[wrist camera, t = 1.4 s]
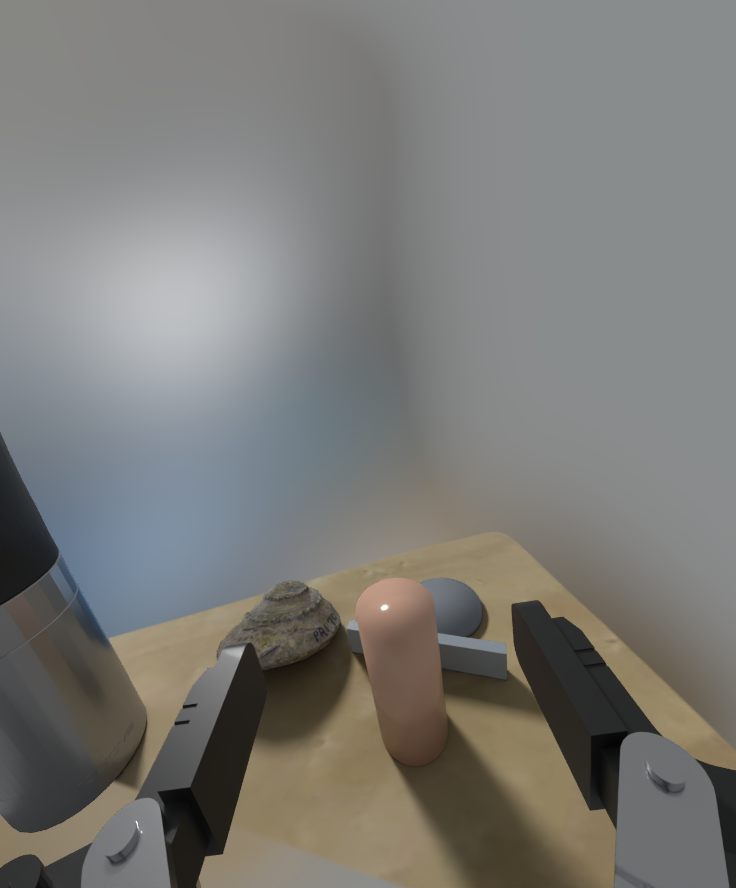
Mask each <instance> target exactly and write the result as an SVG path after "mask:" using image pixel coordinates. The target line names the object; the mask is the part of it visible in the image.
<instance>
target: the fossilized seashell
mask: <svg viewBox="0 0 736 888" xmlns="http://www.w3.org/2000/svg"><path fill="white" fill-rule="evenodd" d="M340 626H341V622H340V617H339V613H338V612H337V611H336V610H335V609H334V607H333V606H332V604H331V603H330V602H329V601H327V600H325V599H324V598H323V597H322V596H321V594H320V593H319V592H318V590H315V589H313V588H312V587H308V586H307V585H306V584H305V583H304V582H300V581H286V582H282V583H279V584H277V585H275V587H274V588H272V589H271V590H269V591H267V592H266V593H265V594H264V597H263V599H262V600H261V601H260V602H259V603H258V604H257V605H256V606H255V607H254V608H253V609H252V610H251V611H250V612H248V613H246V614H245V616H244V617H243V619H242V621H241V622H240V623H239V624H238V625H237V626H235V627H234V628H233V629H232V630H231V631H230V632H229V633H228V635H227V636H226V637H225V639H224V640H223V641H221V643H220V645H219V648H218V650H217V661H218V659H219V657H220V654H221V652H222V650H223V649H224V648H225V647H226V646H230V645H236V644H243V643H252V644H253V645H254V648H255V651H256V654H257V657H258V659H259V662H260V665H261V668H262V670H268V669H272V668H276V667H280V666H284V665H289V664H291V663H294V662H297V661H301V660H305V659H306V658H308V657H309V656H311V655H313V654H315V653H316V652H318V651H320V650H322V649H323V648H325V647H326V646H327V645H328V644H329V643H330V641H331V640H332V639H333V638H334V637H335V635H336V633H337V631H338V629H339V627H340Z"/></svg>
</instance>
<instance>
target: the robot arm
mask: <svg viewBox="0 0 736 888" xmlns="http://www.w3.org/2000/svg"><path fill="white" fill-rule="evenodd" d="M512 623H513V638H514V647H515V651H516V655H517V658H518V661H519V664H520V666H521V668H522V670H523V672H524V675H525V677H526V679H527V681H528V683H529V685H530V687H531V689H532V691H533V693H534V695H535V697H536V699H537V702H538V704H539V706H540V708H541V710H542V712H543V714H544V716H545V718H546V720H547V722H548V724H549V727H550V729H551V731H552V733H553V735H554V737H555V739H556V741H557V743H558V745H559V747H560V749H561V751H562V754H563V756H564V758H565V760H566V762H567V764H568V766H569V768H570V770H571V772H572V774H573V776H574V778H575V781H576V783H577V785H578V787H579V789H580V791H581V793H582V795H583V797H584V799H585V801H586V803H587V805H588V808H589V810H590V811H591V810H599V809H606V811H607V813H608V815H609V817H610V819H611V821H612V823H613V825H614V827H615V829H616V849H615V871H614V888H736V770H731V769H726V768H722V767H717V766H714V765H710V764H707V763H704V762H702V761H699V760H697V759H695V758H693V757H692V756H691V755H690V754H689V753H688V752H687V751H686V750H684V749H683V748H682V747H680V746H679V745H677V744H676V743H674V742H672V741H671V740H669V739H667V738H665V737H663V736H662V735H661V734H660V733H659V732H658V731H657V730H656V729H655V727H654V726H653V725H652V724H651V722H650V721H649V720H648V718H647V717H646V716H645V714H644V713H643V712H642V710H641V709H640V708H639V706H638V705H637V704H636V702H635V701H634V700H633V698H632V697H631V696H630V694H629V693H628V692H627V690H626V689H625V688H624V686H623V685H622V684H621V682H620V681H619V680H618V678H617V677H616V676H615V674H614V673H613V672H612V670H611V669H610V668H609V667H608V666H606V663H605V661H604V660H603V659H602V657H601V656H600V655H599V653H598V652H597V651H595V649H594V647H593V645H592V644H591V643H590V641H589V640H588V639H587V637H586V636H585V635H584V633H583V632H582V631H581V630H580V629H579V628H578V627H576V626H575V625H573V624H572V623H571V622H569V621H568V620H567V619H565V618H564V617H558V618H551V617H550V615H549V614H548V612H547V611H546V609H545V608H544V606H543V605H542V604H541V602H540V601H538V600H535V601H528V602H522V603H515V604H512ZM265 698H266V681H265V677H264V674H263V671H262V668H261V665H260V662H259V659H258V657H257V654H256V651H255V648H254V645H253V644H252V643H243V644H236V645H230V646H226V647H225V648H224V649H223V650H222V652H221V654H220V657H219V659H218V661H217V663H216V665H215V667H213V668H207V670H206V671H205V672H204V673H203V674H202V675H201V677H200V678H199V679H198V680H197V681H196V682H195V684H194V685H193V686H192V688H191V690H190V692H189V694H188V696H187V698H186V700H185V702H184V704H183V709H181V710H180V712H179V714H178V716H177V718H176V720H175V725H174V726H172V728H171V730H170V732H169V734H168V736H167V738H166V740H165V742H164V744H163V746H162V748H161V750H160V752H159V754H158V756H157V758H156V760H155V762H154V764H153V766H152V768H151V770H150V772H149V774H148V776H147V778H146V780H145V782H144V784H143V786H142V788H141V790H140V792H139V794H138V796H137V797H136V799H135V801H133V802H132V803H130V804H128V805H126V806H125V807H124V808H122V809H121V810H120V811H118V812H117V813H116V814H115V815H114V816H113V817H112V818H111V819H110V820H109V821H108V822H107V823H106V824H105V826H104V827H103V828H102V829H101V831H100V832H99V833H98V835H97V837H96V838H95V840H94V841H93V842H92V843H90V844H89V845H87V846H85V847H83V848H81V849H79V850H77V851H75V852H74V853H71V854H69V855H68V856H66V857H64V858H62V859H60V860H58V861H56V862H54V863H52V864H50V865H48V866H46V867H45V866H44V865H43V864H42V862H41V861H40V860H39V858H38V857H36V856H35V855H31V854H30V855H23V856H20V857H18V858H16V859H14V860H12V861H10V862H8V863H7V864H5V865H4V866H2V867H1V868H0V888H201V884H200V881H199V879H198V878H199V875H200V871H201V868H202V865H203V861H204V858H205V856H212V855H220V854H223V851H224V848H225V844H226V840H227V837H228V833H229V830H230V826H231V822H232V819H233V815H234V812H235V808H236V804H237V801H238V797H239V794H240V790H241V786H242V783H243V779H244V775H245V772H246V768H247V765H248V761H249V757H250V754H251V750H252V747H253V743H254V739H255V736H256V732H257V729H258V725H259V721H260V718H261V714H262V711H263V707H264V703H265ZM146 720H147V714H146V708H145V706H144V704H143V702H142V700H141V699H140V697H139V695H138V693H137V691H136V689H135V687H134V686H133V684H132V682H131V680H130V678H129V676H128V674H127V672H126V670H125V669H124V667H123V665H122V663H121V661H120V659H119V658H118V656H117V654H116V652H115V650H114V649H113V647H112V645H111V643H110V641H109V639H108V638H107V636H106V634H105V632H104V630H103V629H102V627H101V625H100V623H99V621H98V620H97V618H96V616H95V614H94V612H93V610H92V609H91V607H90V605H89V603H88V601H87V600H86V598H85V596H84V594H83V592H82V590H81V589H80V587H79V585H78V583H77V582H76V580H75V578H74V576H73V575H72V573H71V571H70V569H69V567H68V566H67V564H66V562H65V560H64V558H63V557H62V555H61V553H60V551H59V550H58V548H57V546H56V544H55V542H54V540H53V539H52V537H51V535H50V533H49V531H48V530H47V527H46V525H45V523H44V521H43V519H42V517H41V515H40V513H39V511H38V509H37V507H36V505H35V503H34V501H33V500H32V498H31V496H30V494H29V492H28V490H27V488H26V486H25V484H24V483H23V481H22V479H21V477H20V474H19V472H18V470H17V468H16V466H15V464H14V462H13V460H12V458H11V456H10V453H9V451H8V449H7V447H6V444H5V442H4V440H3V438H2V435H1V433H0V814H1V815H2V816H3V818H4V819H5V820H6V821H7V822H8V823H9V824H10V825H11V826H12V827H13V828H15V829H16V830H18V831H19V832H28V833H33V832H37V831H42V830H46V829H49V828H51V827H53V826H55V825H58V824H60V823H62V822H64V821H65V820H67V819H69V818H70V817H72V816H73V815H75V814H77V813H78V812H79V811H81V810H82V809H83V808H85V807H86V806H87V805H89V804H90V803H91V802H92V801H94V800H95V799H96V798H97V797H98V796H99V795H100V794H101V793H102V792H103V791H104V790H105V789H106V788H107V787H108V786H109V785H110V784H111V783H112V782H113V781H114V780H115V779H116V777H117V776H118V775H119V774H120V773H121V771H122V770H123V769H124V768H125V766H126V765H127V763H128V762H129V760H130V759H131V757H132V756H133V754H134V752H135V751H136V749H137V747H138V745H139V743H140V741H141V739H142V736H143V733H144V730H145V726H146Z"/></svg>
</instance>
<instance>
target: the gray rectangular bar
mask: <svg viewBox="0 0 736 888" xmlns="http://www.w3.org/2000/svg"><path fill="white" fill-rule="evenodd" d="M347 632H348V636H349V640H350V645H351V649H352V652H356V653H361V654H364V652H363V647H362V643H361V638H360V633H359V629H358V624H357V621H353V620H350V622H349V625H348V627H347ZM438 642H439V651H440V660H441V668H444V669H449V670H454V671H460V672H465V673H471V674H476V675H482V676H487V677H493V678H498V679H504V680H507V652H506V643H501V642H494V641H487V640H481V639H474V638H467V637H460V636H454V635H447V634H440V633H438Z"/></svg>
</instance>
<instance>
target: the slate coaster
mask: <svg viewBox="0 0 736 888" xmlns="http://www.w3.org/2000/svg"><path fill="white" fill-rule="evenodd" d="M420 584H421V585H423V586H424V587H425V588H426V589H427V590H428V591H429V592H430V594H431V595H432V598H433V601H434V607H435V616H436V625H437V633H440V634H447V635H454V636H460V637H469V636H471V635H472V634H473V633H474V632H475V631H476V630H477V629H478V627H479V625H480V623H481V620H482V605H481V601H480V599H479V597H478V595H477V594H476V593H475V592H474V590H472V589H471V588H470V587H469V586H467V585H466V584H464V583H462V582H460V581H457V580H454V579H449V578H433V579H429V580H426V581H423V582H421V583H420Z"/></svg>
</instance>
